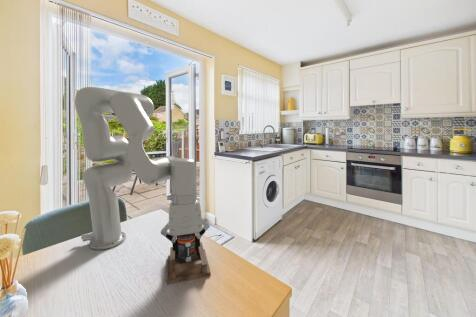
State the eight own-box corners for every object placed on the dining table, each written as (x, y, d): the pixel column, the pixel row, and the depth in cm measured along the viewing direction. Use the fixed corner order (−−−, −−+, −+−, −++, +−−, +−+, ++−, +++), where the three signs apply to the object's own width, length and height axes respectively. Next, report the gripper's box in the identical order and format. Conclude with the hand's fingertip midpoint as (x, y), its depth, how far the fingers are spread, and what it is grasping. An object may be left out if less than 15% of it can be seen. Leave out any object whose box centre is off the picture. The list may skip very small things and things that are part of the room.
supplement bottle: (194, 265, 66) (192, 232, 65) (175, 265, 66) (173, 232, 65) (198, 254, 72) (196, 223, 70) (180, 254, 72) (179, 223, 71)
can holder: (166, 284, 62) (166, 272, 61) (168, 258, 74) (167, 247, 73) (210, 275, 65) (210, 263, 65) (204, 251, 78) (204, 241, 77)
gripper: (154, 204, 60) (158, 262, 63) (213, 198, 65) (214, 252, 68) (156, 196, 67) (159, 248, 70) (209, 191, 72) (210, 240, 75)
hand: (186, 249), depth 69 cm, fingers closed on supplement bottle, 6 cm apart
